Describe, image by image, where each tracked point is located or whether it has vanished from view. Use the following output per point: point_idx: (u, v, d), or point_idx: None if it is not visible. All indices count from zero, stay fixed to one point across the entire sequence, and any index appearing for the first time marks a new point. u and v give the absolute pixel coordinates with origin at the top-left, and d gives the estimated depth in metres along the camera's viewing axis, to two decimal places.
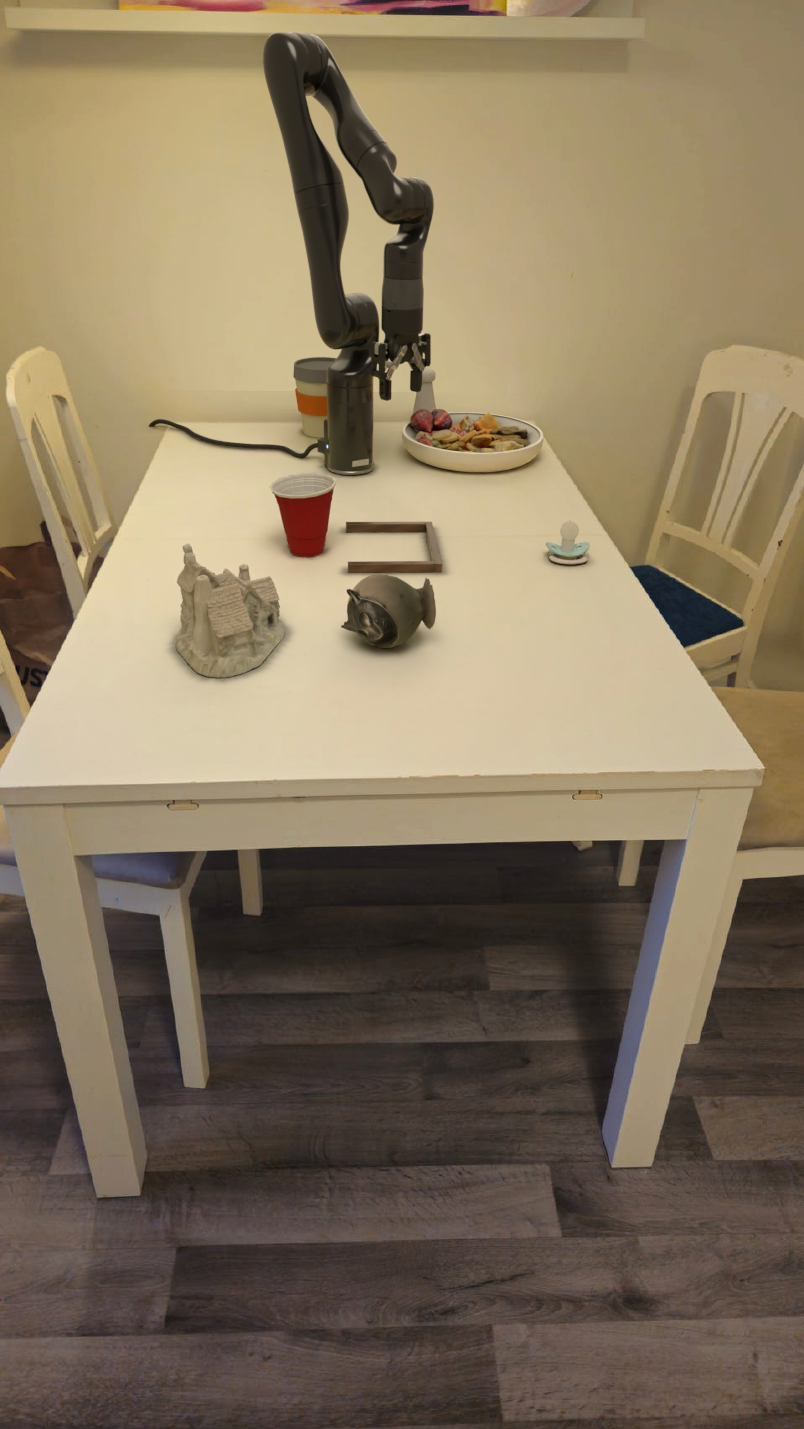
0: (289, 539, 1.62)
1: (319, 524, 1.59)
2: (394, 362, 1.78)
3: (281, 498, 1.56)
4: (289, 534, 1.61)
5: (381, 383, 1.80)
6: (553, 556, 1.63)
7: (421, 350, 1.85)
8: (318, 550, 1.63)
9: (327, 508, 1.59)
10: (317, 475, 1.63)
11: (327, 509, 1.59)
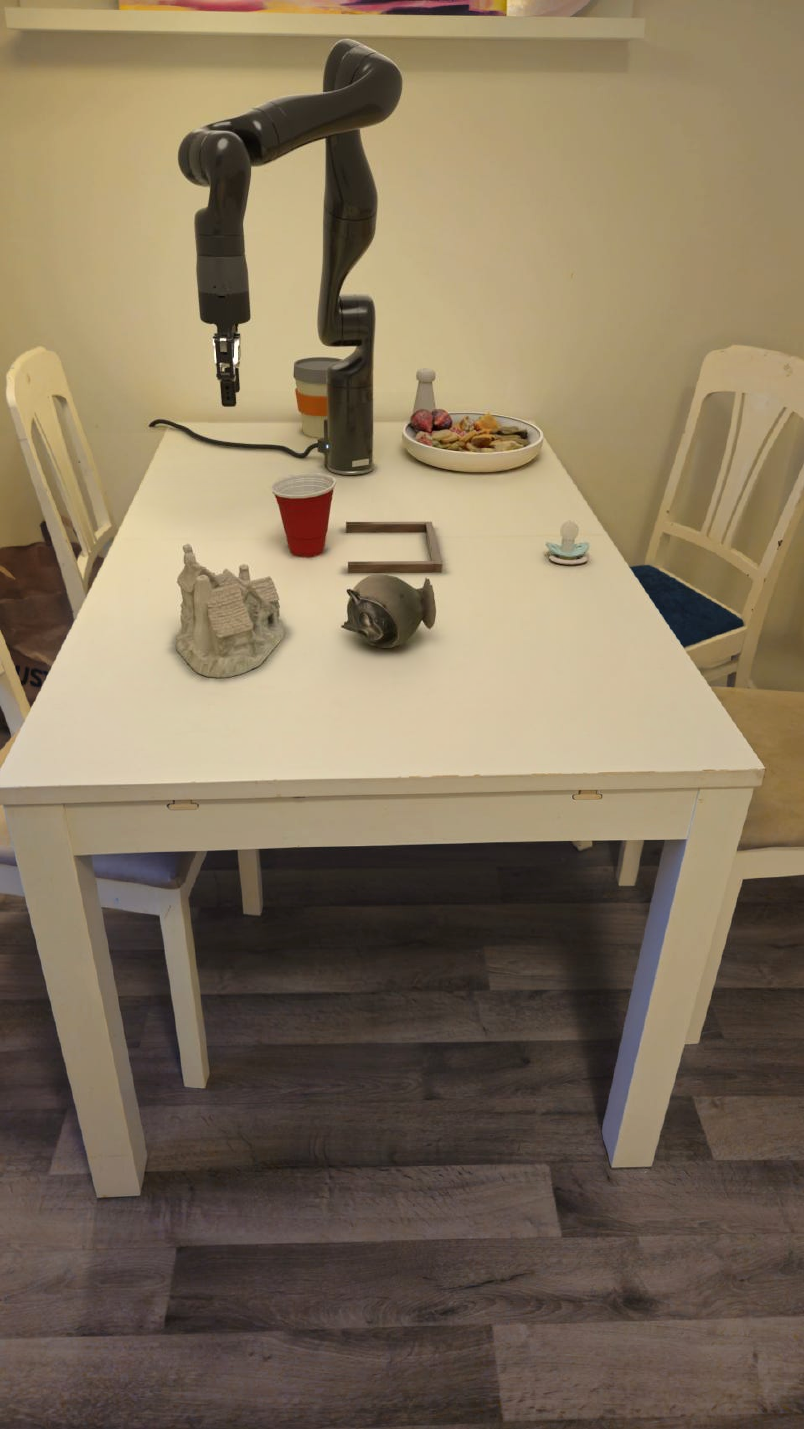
0: (289, 539, 1.62)
1: (319, 524, 1.59)
2: (236, 358, 1.47)
3: (281, 498, 1.56)
4: (289, 534, 1.61)
5: (225, 387, 1.47)
6: (553, 556, 1.63)
7: None
8: (318, 550, 1.63)
9: (327, 508, 1.59)
10: (317, 475, 1.63)
11: (327, 509, 1.59)
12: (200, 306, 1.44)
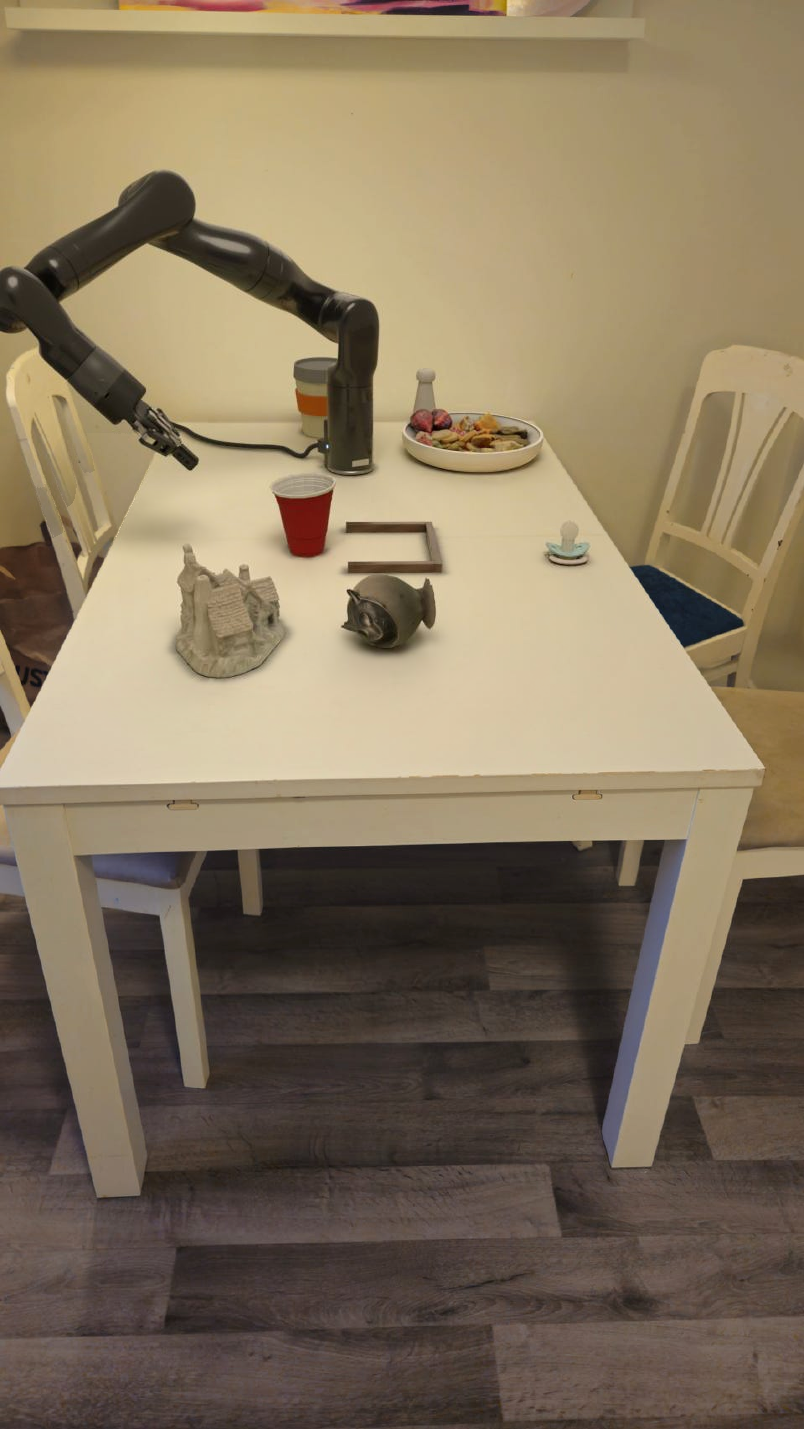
0: (289, 539, 1.62)
1: (319, 524, 1.59)
2: (166, 430, 1.50)
3: (281, 498, 1.56)
4: (289, 534, 1.61)
5: (178, 455, 1.53)
6: (553, 556, 1.63)
7: None
8: (318, 550, 1.63)
9: (327, 508, 1.59)
10: (317, 475, 1.63)
11: (327, 509, 1.59)
12: (103, 415, 1.48)
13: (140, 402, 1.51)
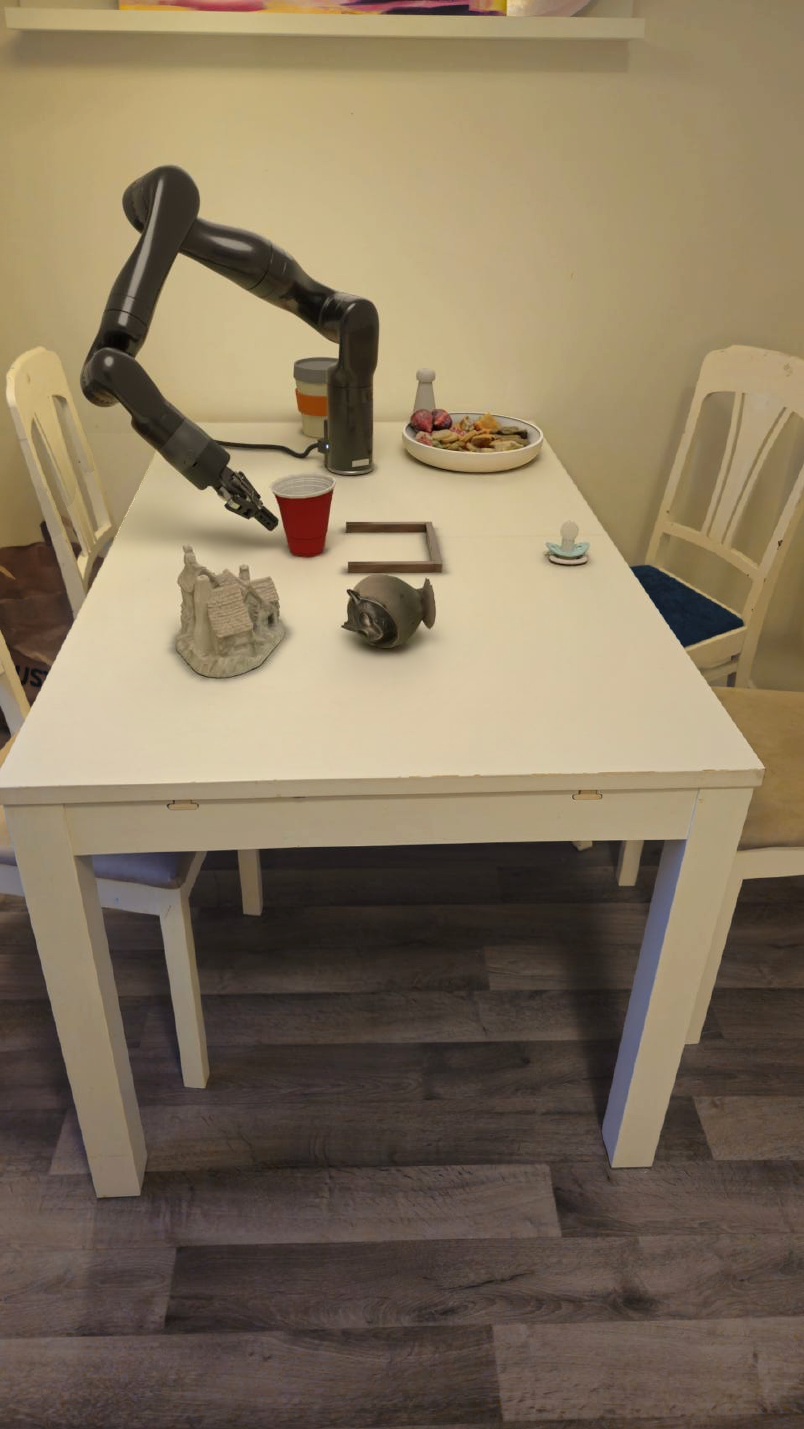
0: (289, 539, 1.62)
1: (319, 524, 1.59)
2: (249, 495, 1.58)
3: (281, 498, 1.56)
4: (289, 534, 1.61)
5: (259, 517, 1.60)
6: (553, 556, 1.63)
7: None
8: (318, 550, 1.63)
9: (327, 508, 1.59)
10: (317, 475, 1.63)
11: (327, 509, 1.59)
12: None
13: (224, 468, 1.58)
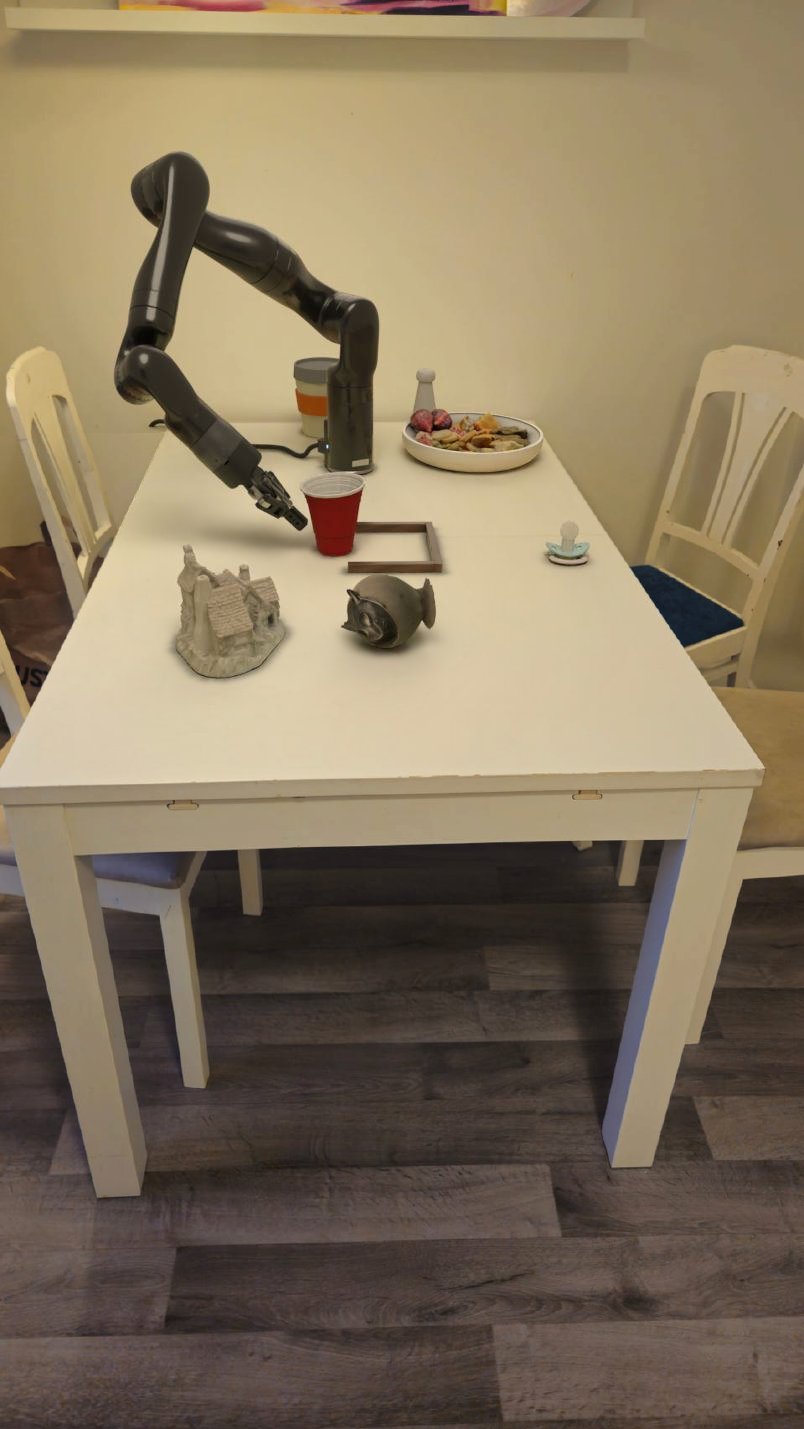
0: (320, 539, 1.62)
1: (351, 523, 1.60)
2: (279, 494, 1.58)
3: (315, 498, 1.56)
4: (320, 534, 1.61)
5: (289, 517, 1.60)
6: (553, 556, 1.63)
7: None
8: (348, 549, 1.63)
9: (358, 506, 1.60)
10: (343, 474, 1.63)
11: (358, 507, 1.60)
12: (221, 480, 1.56)
13: None
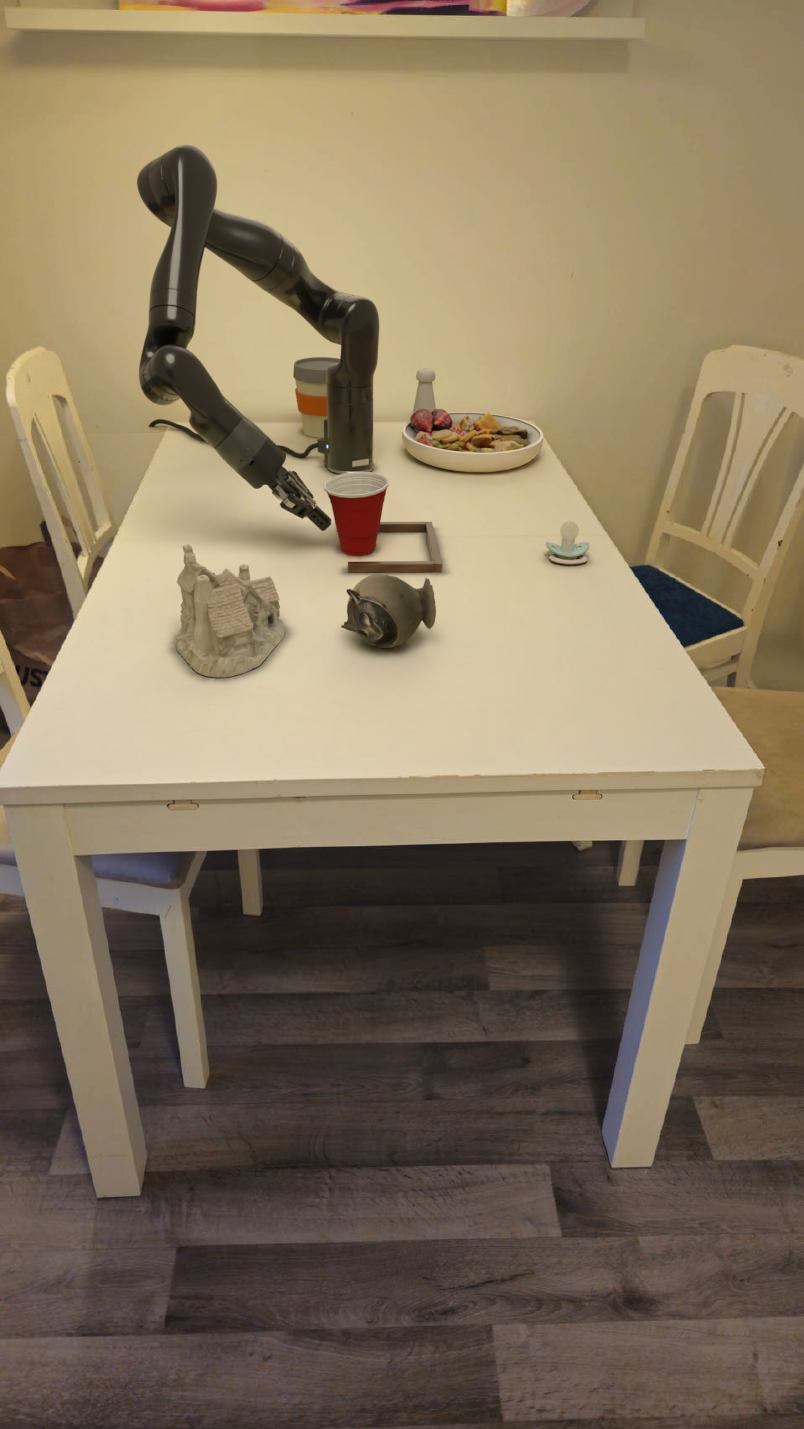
0: (343, 539, 1.62)
1: (375, 522, 1.61)
2: (303, 494, 1.58)
3: (340, 498, 1.56)
4: (344, 534, 1.61)
5: (313, 517, 1.60)
6: (553, 556, 1.63)
7: None
8: (372, 548, 1.64)
9: (382, 506, 1.61)
10: (364, 474, 1.64)
11: (381, 507, 1.61)
12: (246, 480, 1.56)
13: None
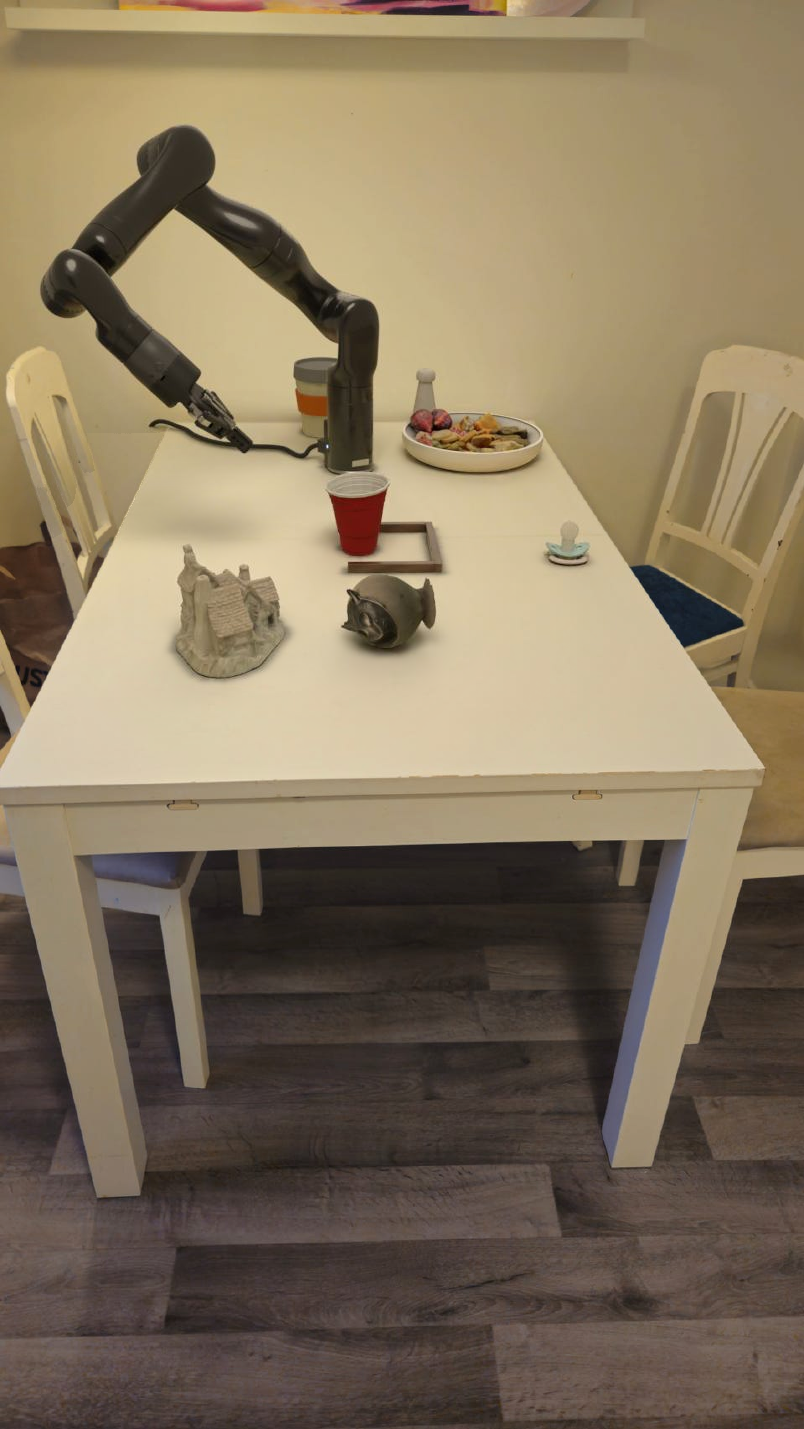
0: (344, 539, 1.62)
1: (376, 522, 1.61)
2: (221, 413, 1.50)
3: (341, 498, 1.56)
4: (345, 534, 1.61)
5: (232, 438, 1.53)
6: (553, 556, 1.63)
7: None
8: (373, 548, 1.64)
9: (382, 505, 1.61)
10: (365, 474, 1.64)
11: (382, 506, 1.61)
12: (159, 398, 1.49)
13: (195, 385, 1.51)
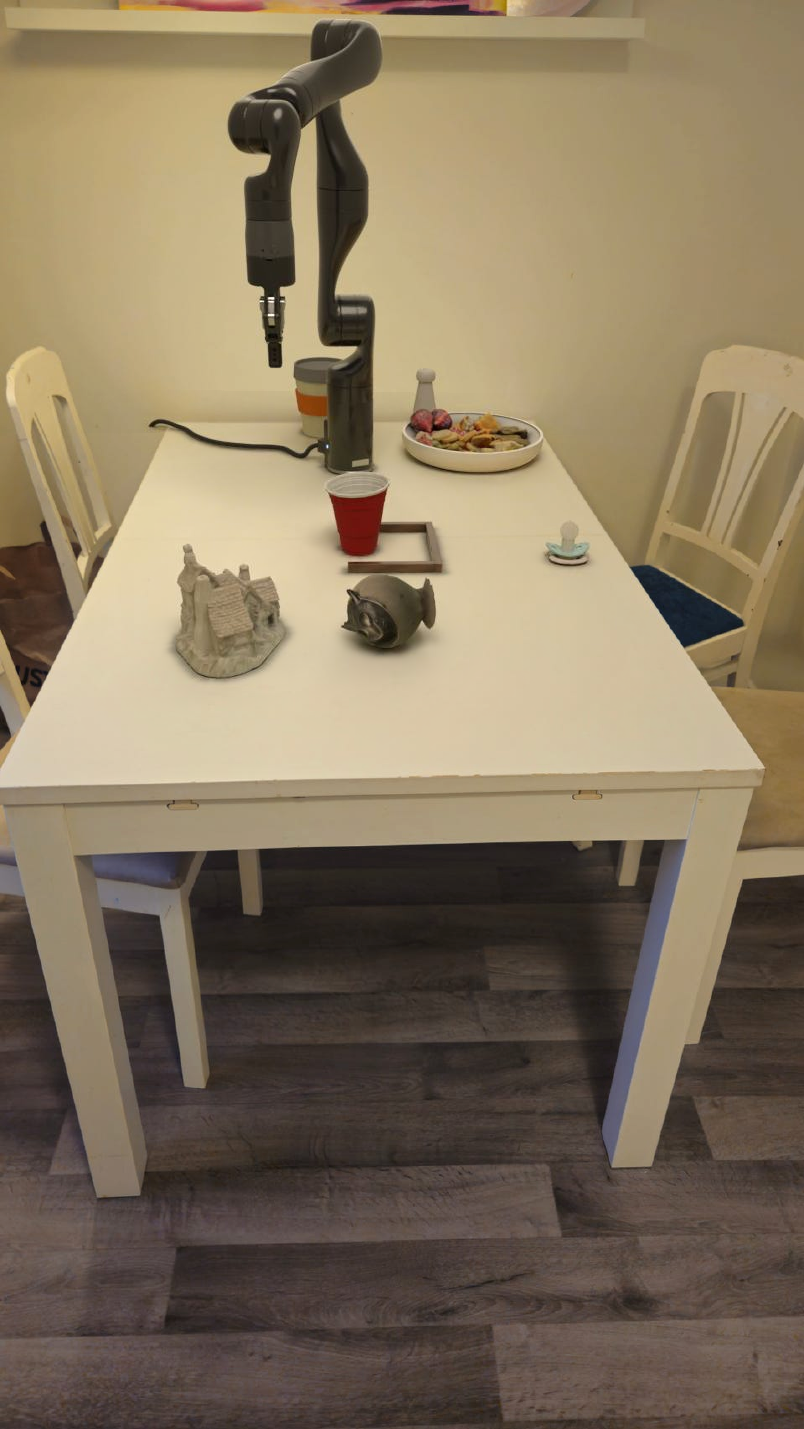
0: (344, 539, 1.62)
1: (376, 522, 1.61)
2: (282, 324, 1.56)
3: (341, 498, 1.56)
4: (345, 534, 1.61)
5: (272, 349, 1.58)
6: (553, 556, 1.63)
7: None
8: (373, 548, 1.64)
9: (382, 505, 1.61)
10: (365, 474, 1.64)
11: (382, 506, 1.61)
12: (248, 269, 1.51)
13: None
